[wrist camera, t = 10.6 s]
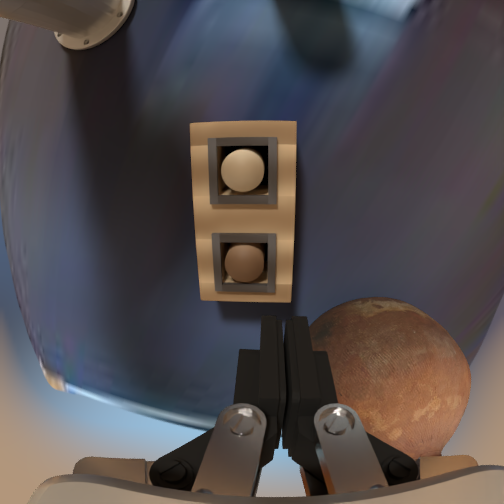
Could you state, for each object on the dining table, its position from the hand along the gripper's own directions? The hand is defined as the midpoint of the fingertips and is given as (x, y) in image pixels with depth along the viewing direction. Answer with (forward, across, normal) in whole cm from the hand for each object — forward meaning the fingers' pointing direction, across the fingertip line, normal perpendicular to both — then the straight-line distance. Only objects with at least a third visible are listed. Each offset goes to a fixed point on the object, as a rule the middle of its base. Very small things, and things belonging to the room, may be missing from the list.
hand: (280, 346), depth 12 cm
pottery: (+26, -14, +21) cm, 36 cm away
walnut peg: (+26, +2, +6) cm, 27 cm away
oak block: (+26, +3, +2) cm, 27 cm away
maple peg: (+27, +3, -3) cm, 27 cm away
